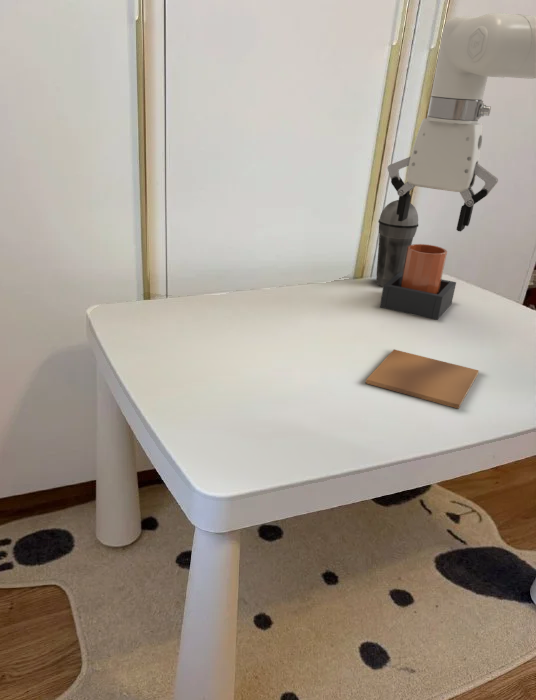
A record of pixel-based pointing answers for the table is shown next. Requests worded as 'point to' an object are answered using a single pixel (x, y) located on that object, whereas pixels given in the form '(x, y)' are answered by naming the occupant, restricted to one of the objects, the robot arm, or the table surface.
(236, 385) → the table surface
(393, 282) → the cup holder
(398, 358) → the cork mat
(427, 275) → the tumbler
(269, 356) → the table surface
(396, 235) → the beverage cup
